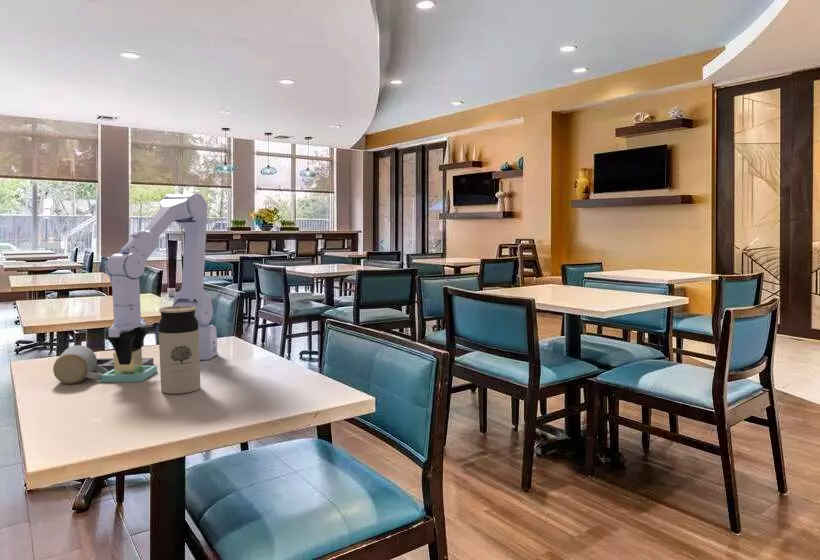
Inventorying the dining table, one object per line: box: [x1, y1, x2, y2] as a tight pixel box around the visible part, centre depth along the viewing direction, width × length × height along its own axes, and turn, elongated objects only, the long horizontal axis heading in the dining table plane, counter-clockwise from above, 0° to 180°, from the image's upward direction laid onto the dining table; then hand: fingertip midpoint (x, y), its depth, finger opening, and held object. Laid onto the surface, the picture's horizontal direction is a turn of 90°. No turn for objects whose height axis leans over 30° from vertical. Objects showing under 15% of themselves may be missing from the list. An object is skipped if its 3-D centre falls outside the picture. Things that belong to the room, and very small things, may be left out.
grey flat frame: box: [93, 357, 154, 373], centre depth 146 cm, size 18×8×2 cm, turn 92°
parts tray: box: [100, 365, 158, 383], centre depth 137 cm, size 9×9×2 cm
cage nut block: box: [113, 347, 143, 374], centre depth 137 cm, size 4×4×6 cm
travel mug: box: [158, 305, 201, 395], centre depth 125 cm, size 8×8×18 cm
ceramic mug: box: [52, 344, 108, 385], centre depth 134 cm, size 11×8×8 cm
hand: (129, 361), depth 137 cm, fingers closed on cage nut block, 4 cm apart
